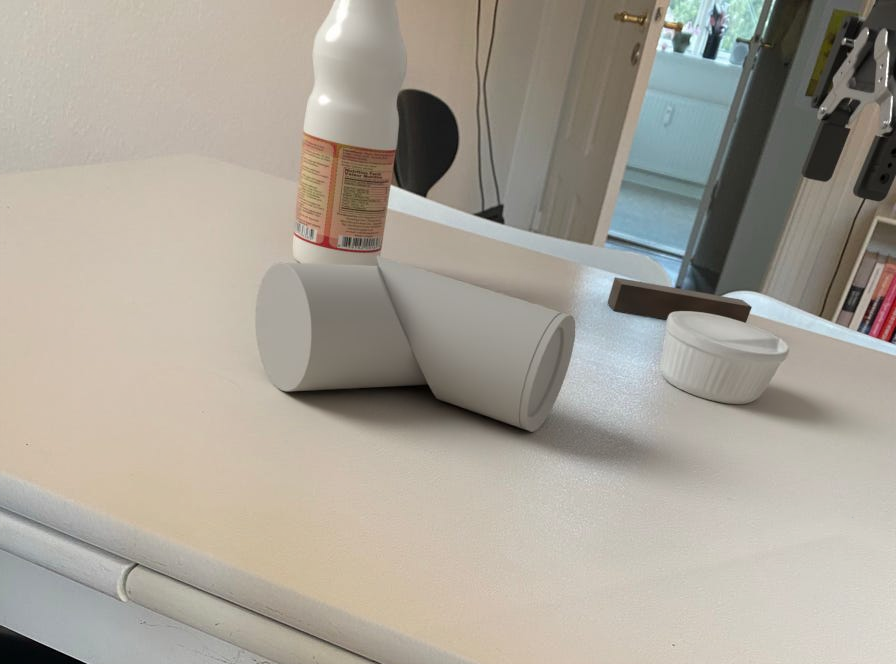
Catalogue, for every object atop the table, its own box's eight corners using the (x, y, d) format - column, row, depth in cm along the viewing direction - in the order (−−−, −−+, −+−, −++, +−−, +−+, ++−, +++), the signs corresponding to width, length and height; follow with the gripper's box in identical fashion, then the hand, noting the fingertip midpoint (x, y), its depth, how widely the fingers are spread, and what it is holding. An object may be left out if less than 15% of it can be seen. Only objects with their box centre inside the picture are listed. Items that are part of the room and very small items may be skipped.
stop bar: (732, 325, 109) (742, 299, 107) (742, 332, 106) (752, 306, 104) (606, 303, 106) (614, 277, 104) (613, 310, 103) (621, 283, 102)
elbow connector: (452, 335, 79) (240, 338, 68) (495, 215, 72) (265, 197, 61) (569, 462, 70) (347, 488, 59) (631, 340, 63) (391, 345, 52)
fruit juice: (276, 260, 95) (305, -75, 79) (311, 247, 102) (344, -61, 87) (360, 283, 93) (406, -54, 78) (389, 268, 101) (437, -42, 85)
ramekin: (758, 420, 79) (782, 361, 76) (636, 381, 82) (655, 323, 79) (774, 391, 88) (797, 337, 85) (664, 356, 91) (682, 303, 88)
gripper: (1077, -86, 52) (937, 217, 61) (943, -70, 64) (841, 182, 73) (962, -117, 51) (836, 196, 60) (846, -95, 62) (755, 164, 71)
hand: (839, 188), depth 66 cm, fingers open, 8 cm apart
